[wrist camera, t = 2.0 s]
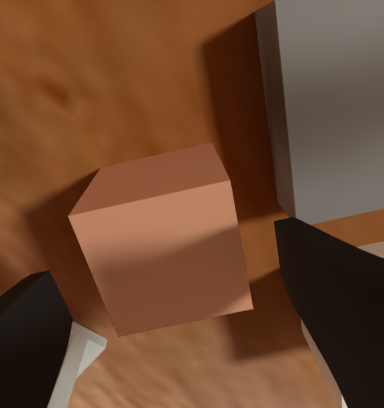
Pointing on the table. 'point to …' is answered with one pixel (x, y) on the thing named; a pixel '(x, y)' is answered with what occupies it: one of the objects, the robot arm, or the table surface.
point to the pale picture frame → (75, 362)
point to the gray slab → (324, 104)
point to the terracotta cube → (163, 240)
